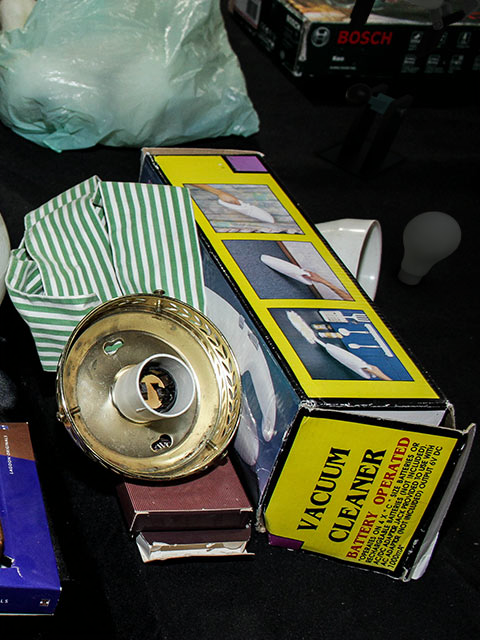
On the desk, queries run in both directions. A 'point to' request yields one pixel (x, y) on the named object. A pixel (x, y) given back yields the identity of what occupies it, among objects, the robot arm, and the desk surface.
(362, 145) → the switch bracket
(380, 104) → the switch lever
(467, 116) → the desk surface
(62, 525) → the desk surface
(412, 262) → the lightbulb
